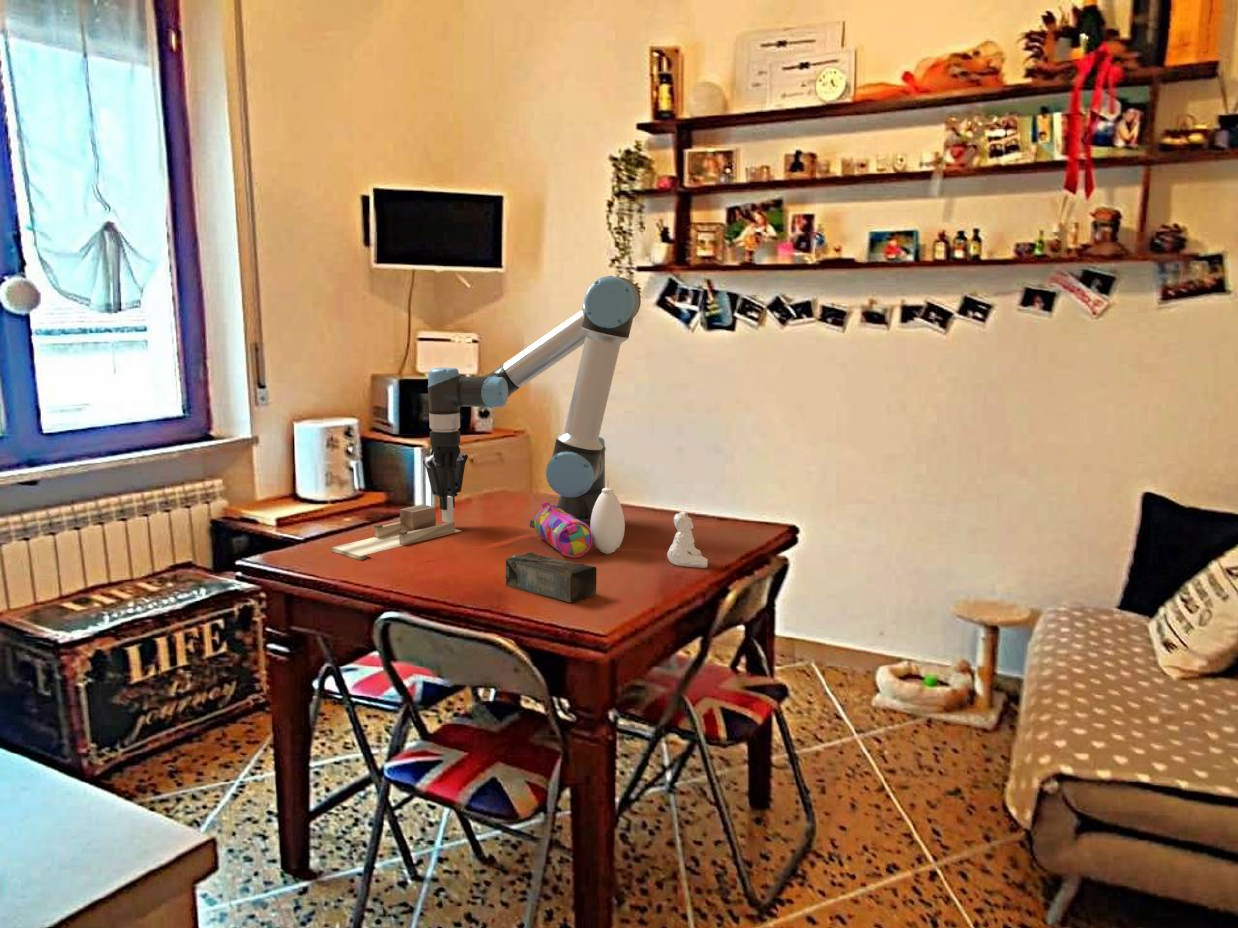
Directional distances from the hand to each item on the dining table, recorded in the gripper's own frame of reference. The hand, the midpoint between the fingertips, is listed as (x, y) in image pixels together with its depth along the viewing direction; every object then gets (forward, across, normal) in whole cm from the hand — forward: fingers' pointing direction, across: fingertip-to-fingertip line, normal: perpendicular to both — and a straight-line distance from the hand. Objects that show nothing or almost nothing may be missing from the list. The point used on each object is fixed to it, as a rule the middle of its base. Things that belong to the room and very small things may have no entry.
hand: (447, 521), depth 241 cm
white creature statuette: (+3, -16, +64) cm, 65 cm away
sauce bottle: (+3, -11, +44) cm, 46 cm away
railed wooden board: (+2, +15, 0) cm, 16 cm away
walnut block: (+1, +9, 0) cm, 10 cm away
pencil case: (+3, -7, +33) cm, 34 cm away
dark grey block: (+3, +18, +54) cm, 57 cm away
